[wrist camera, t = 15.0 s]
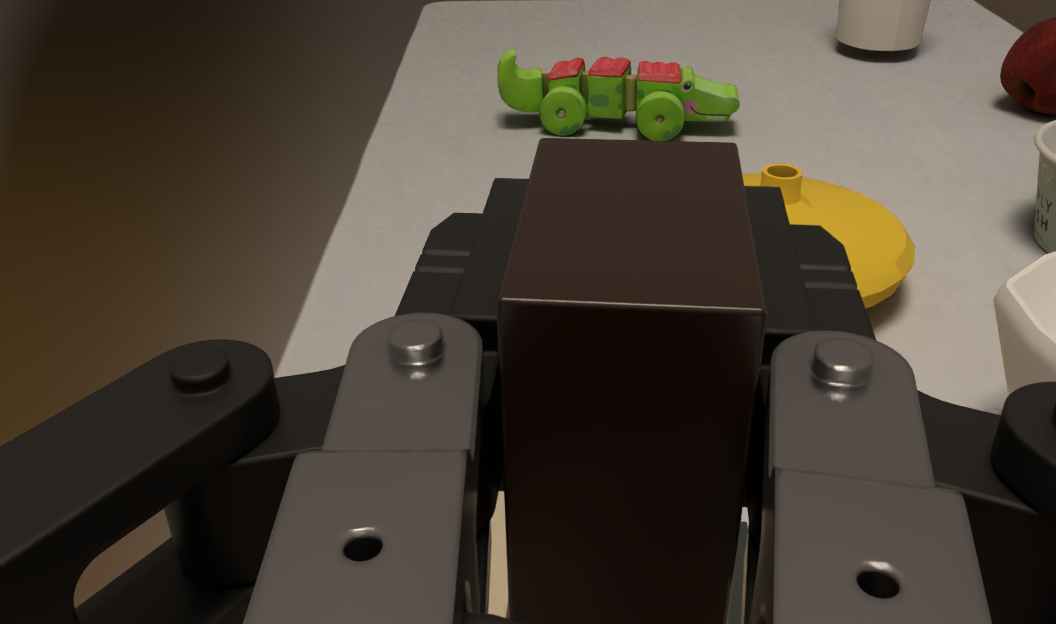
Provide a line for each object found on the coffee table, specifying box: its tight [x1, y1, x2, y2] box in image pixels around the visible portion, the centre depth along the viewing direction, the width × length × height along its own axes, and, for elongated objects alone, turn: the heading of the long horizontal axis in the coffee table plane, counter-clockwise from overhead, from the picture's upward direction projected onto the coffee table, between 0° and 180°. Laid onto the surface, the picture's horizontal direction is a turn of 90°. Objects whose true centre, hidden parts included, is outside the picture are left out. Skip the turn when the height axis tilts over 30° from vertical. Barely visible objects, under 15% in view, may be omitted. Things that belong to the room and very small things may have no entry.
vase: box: [742, 164, 915, 309], centre depth 58 cm, size 16×16×7 cm
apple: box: [1000, 17, 1056, 114], centre depth 82 cm, size 7×8×8 cm
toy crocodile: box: [498, 48, 740, 141], centre depth 80 cm, size 20×7×6 cm, turn 78°
